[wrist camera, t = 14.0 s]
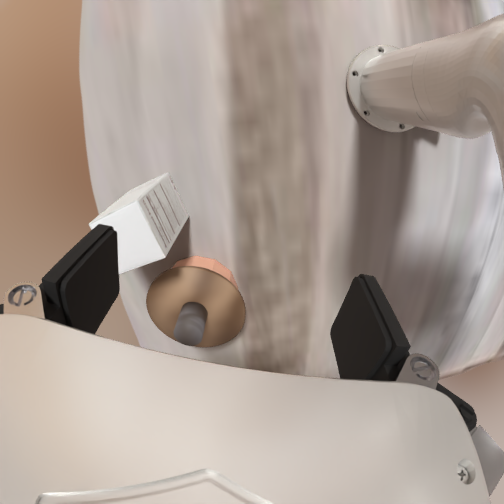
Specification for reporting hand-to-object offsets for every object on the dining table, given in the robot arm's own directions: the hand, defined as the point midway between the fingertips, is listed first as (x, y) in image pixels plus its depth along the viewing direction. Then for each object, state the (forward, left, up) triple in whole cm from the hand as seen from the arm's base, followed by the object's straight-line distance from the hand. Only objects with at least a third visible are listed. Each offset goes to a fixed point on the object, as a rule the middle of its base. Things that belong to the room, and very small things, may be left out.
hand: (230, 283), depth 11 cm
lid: (+4, +23, -25) cm, 34 cm away
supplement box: (+12, +10, -31) cm, 34 cm away
